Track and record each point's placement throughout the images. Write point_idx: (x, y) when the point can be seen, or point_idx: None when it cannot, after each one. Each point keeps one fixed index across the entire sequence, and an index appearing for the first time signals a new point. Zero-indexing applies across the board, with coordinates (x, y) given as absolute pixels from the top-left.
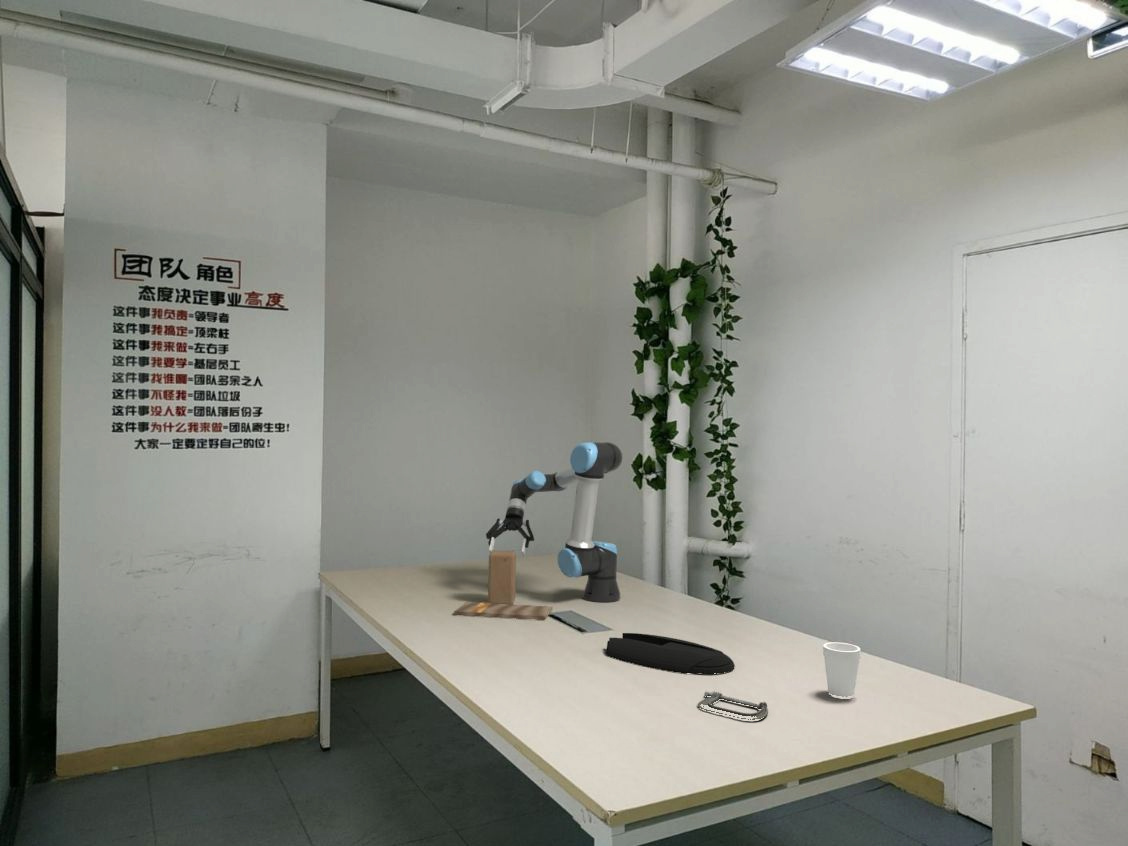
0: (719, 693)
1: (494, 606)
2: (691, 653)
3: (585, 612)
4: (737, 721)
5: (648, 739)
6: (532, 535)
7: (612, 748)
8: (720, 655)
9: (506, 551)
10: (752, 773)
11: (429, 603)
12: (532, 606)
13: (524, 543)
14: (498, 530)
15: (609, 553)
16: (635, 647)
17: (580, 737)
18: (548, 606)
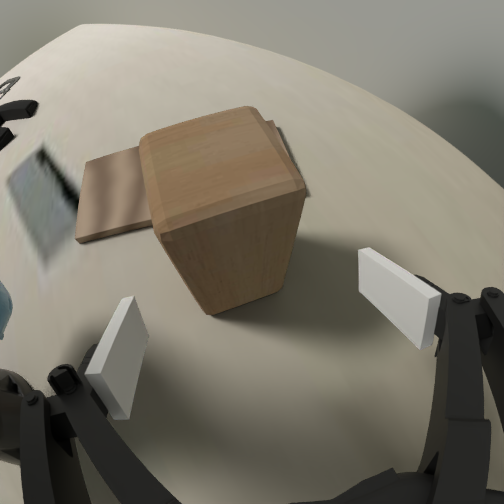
0: (3, 89)
1: None
2: None
3: (23, 260)
4: None
5: (54, 48)
6: (26, 407)
7: (71, 37)
8: None
9: (199, 178)
10: (30, 55)
11: (388, 186)
12: (118, 218)
13: (105, 337)
14: (462, 362)
15: None
16: (14, 102)
17: (82, 34)
18: (83, 236)
